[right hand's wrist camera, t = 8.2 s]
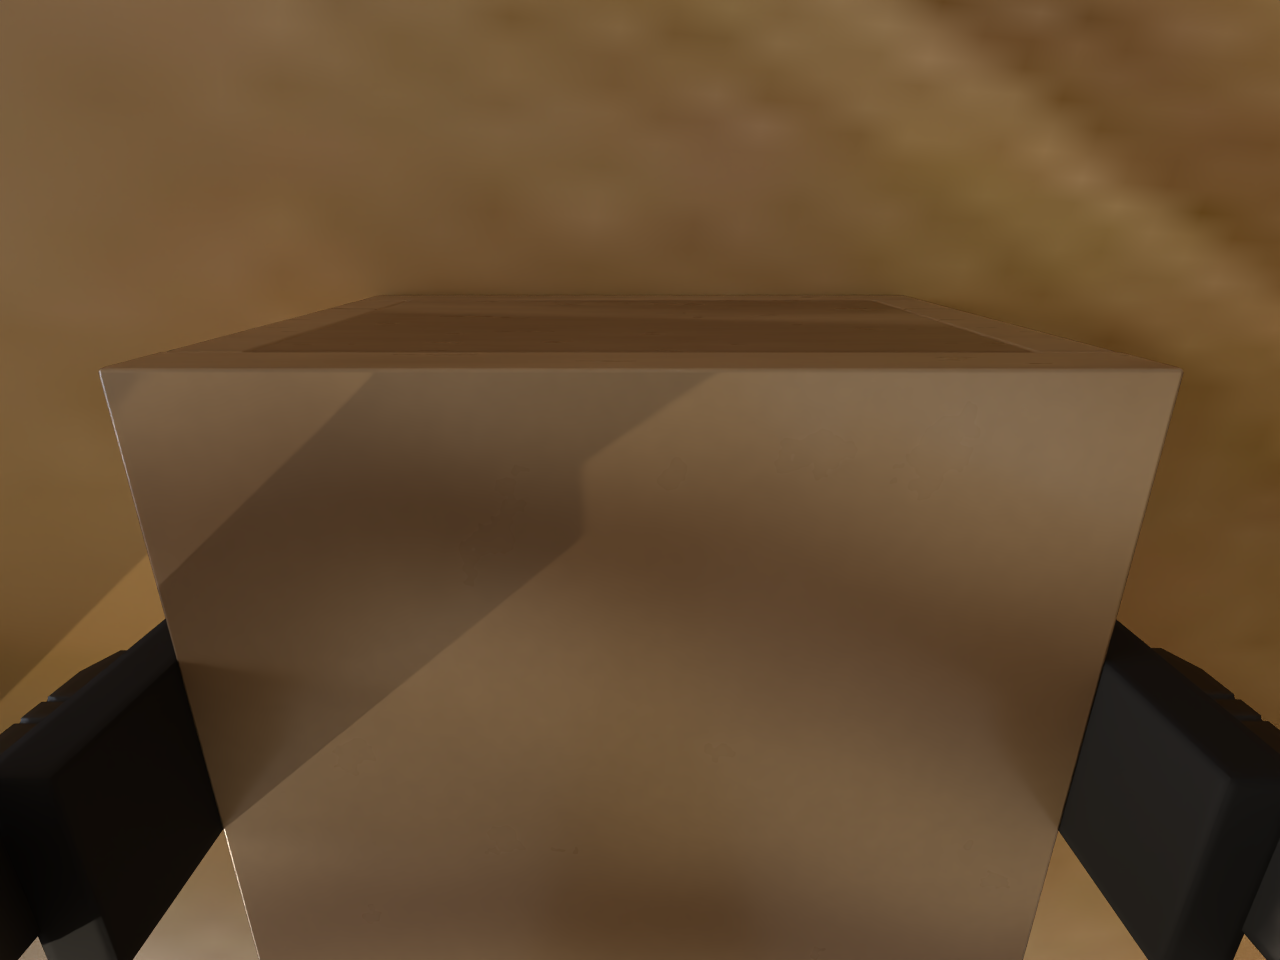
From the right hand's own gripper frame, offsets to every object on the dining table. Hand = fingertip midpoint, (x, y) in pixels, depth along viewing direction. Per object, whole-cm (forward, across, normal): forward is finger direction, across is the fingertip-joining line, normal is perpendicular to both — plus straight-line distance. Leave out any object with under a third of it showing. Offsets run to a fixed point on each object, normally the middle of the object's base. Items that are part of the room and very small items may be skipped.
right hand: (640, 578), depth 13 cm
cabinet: (+4, 0, -4) cm, 5 cm away
